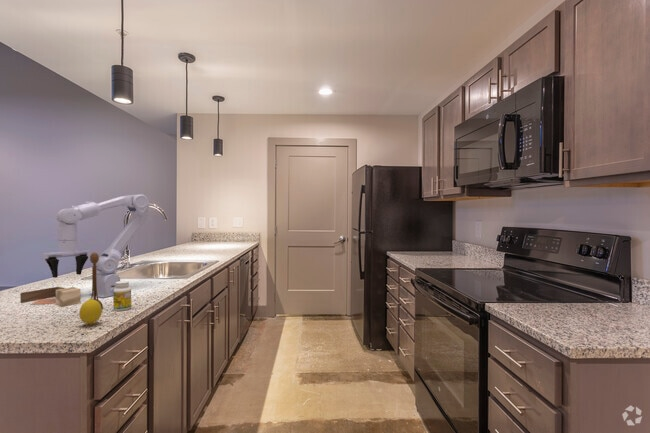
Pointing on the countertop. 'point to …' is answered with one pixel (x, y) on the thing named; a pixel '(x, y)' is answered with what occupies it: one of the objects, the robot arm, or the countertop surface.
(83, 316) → the lemon
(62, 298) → the maple cube
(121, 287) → the supplement bottle
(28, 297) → the brown wooden l-shaped block
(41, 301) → the pad
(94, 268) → the wooden tabletop sculpture
